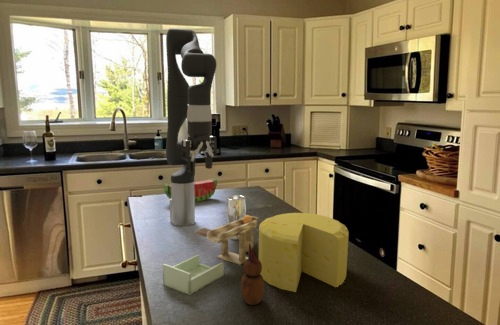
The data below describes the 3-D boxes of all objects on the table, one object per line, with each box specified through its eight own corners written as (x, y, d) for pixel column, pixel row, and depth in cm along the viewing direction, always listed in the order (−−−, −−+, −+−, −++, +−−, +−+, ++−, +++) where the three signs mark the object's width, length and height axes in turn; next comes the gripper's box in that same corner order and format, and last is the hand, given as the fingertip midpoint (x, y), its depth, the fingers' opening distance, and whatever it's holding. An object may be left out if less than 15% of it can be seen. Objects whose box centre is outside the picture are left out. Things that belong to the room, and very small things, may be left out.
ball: (240, 224, 132) (241, 214, 132) (245, 223, 135) (246, 213, 135) (248, 226, 131) (249, 216, 130) (253, 225, 133) (254, 215, 133)
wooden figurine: (240, 294, 106) (240, 241, 103) (261, 294, 106) (262, 240, 104) (241, 308, 99) (242, 251, 96) (265, 307, 100) (266, 250, 97)
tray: (163, 284, 111) (162, 264, 110) (198, 266, 122) (197, 248, 121) (189, 295, 105) (189, 274, 104) (223, 275, 117) (223, 256, 116)
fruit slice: (212, 196, 203) (212, 177, 201) (218, 199, 198) (218, 179, 196) (163, 204, 189) (162, 183, 187) (168, 207, 184) (167, 186, 182)
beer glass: (243, 241, 144) (243, 200, 141) (224, 239, 145) (224, 199, 142) (247, 234, 150) (247, 195, 148) (229, 232, 152) (229, 194, 149)
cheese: (326, 303, 102) (329, 247, 100) (241, 277, 116) (241, 228, 113) (357, 266, 124) (360, 219, 122) (282, 248, 138) (284, 206, 135)
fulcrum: (238, 246, 138) (238, 219, 137) (260, 253, 133) (261, 224, 131) (217, 257, 129) (217, 228, 127) (240, 264, 124) (240, 234, 122)
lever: (230, 220, 140) (231, 211, 140) (257, 227, 134) (257, 217, 133) (191, 235, 124) (191, 225, 123) (219, 243, 118) (219, 232, 117)
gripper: (205, 117, 132) (205, 165, 135) (174, 120, 121) (175, 172, 124) (223, 118, 128) (223, 168, 131) (192, 121, 117) (193, 175, 120)
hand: (199, 170), depth 127 cm, fingers open, 8 cm apart
